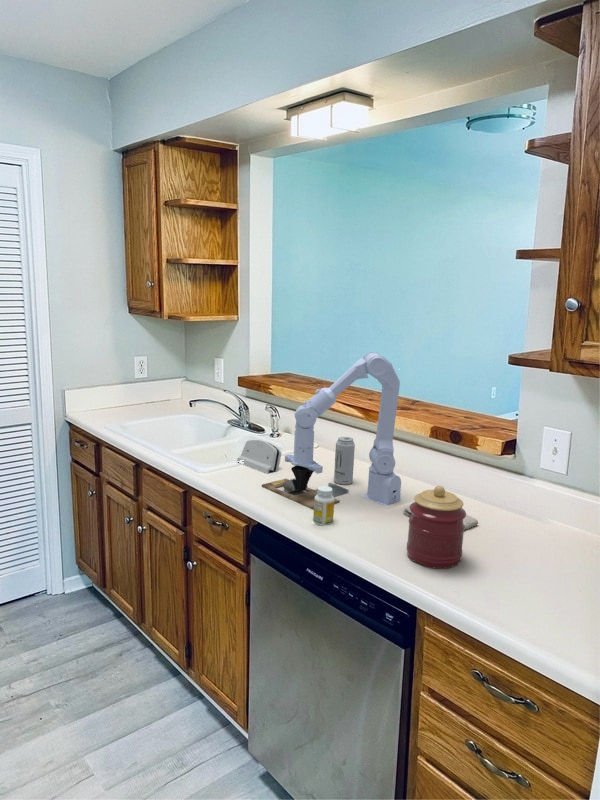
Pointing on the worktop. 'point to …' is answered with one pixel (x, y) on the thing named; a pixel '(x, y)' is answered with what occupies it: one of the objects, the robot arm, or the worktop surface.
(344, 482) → the energy drink can
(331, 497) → the supplement bottle
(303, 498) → the board
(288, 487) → the metal block with knob
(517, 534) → the worktop surface
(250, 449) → the hinge
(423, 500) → the canister
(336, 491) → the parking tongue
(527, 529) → the worktop surface
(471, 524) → the washcloth
